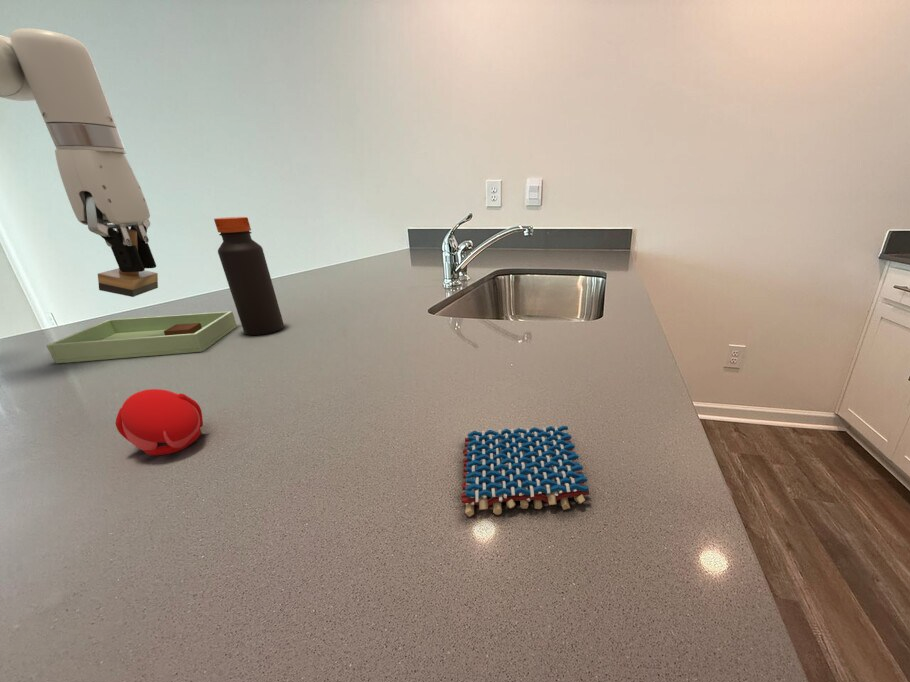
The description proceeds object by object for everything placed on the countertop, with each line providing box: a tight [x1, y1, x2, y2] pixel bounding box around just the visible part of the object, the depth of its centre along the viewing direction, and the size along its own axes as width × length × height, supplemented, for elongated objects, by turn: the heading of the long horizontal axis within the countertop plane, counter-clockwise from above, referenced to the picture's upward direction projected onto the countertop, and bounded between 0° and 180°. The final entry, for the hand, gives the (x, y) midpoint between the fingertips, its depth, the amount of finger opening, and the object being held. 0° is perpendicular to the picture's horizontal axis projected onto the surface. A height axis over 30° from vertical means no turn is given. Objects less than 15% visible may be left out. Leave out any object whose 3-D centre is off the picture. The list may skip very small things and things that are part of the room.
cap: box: [115, 388, 204, 456], centre depth 42 cm, size 8×6×6 cm
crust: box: [164, 323, 202, 336], centre depth 73 cm, size 4×4×2 cm
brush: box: [97, 228, 159, 298], centre depth 67 cm, size 7×4×10 cm, turn 11°
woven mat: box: [460, 424, 590, 518], centre depth 37 cm, size 10×11×2 cm
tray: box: [45, 310, 238, 364], centre depth 72 cm, size 21×14×3 cm
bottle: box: [213, 216, 285, 336], centre depth 74 cm, size 7×7×20 cm
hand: (139, 268), depth 67 cm, fingers closed on brush, 2 cm apart
